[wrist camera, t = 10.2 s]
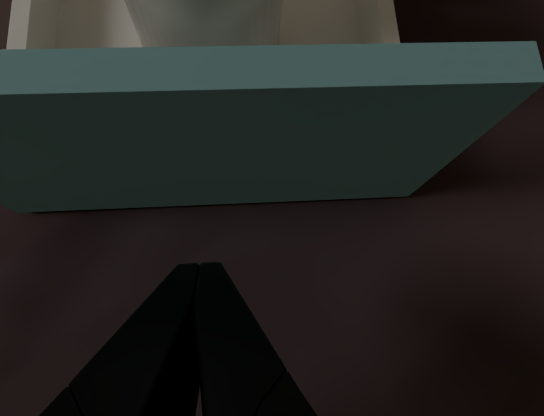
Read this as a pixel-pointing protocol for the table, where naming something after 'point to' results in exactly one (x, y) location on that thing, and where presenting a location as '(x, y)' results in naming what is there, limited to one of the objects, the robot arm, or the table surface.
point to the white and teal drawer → (239, 108)
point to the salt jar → (206, 22)
